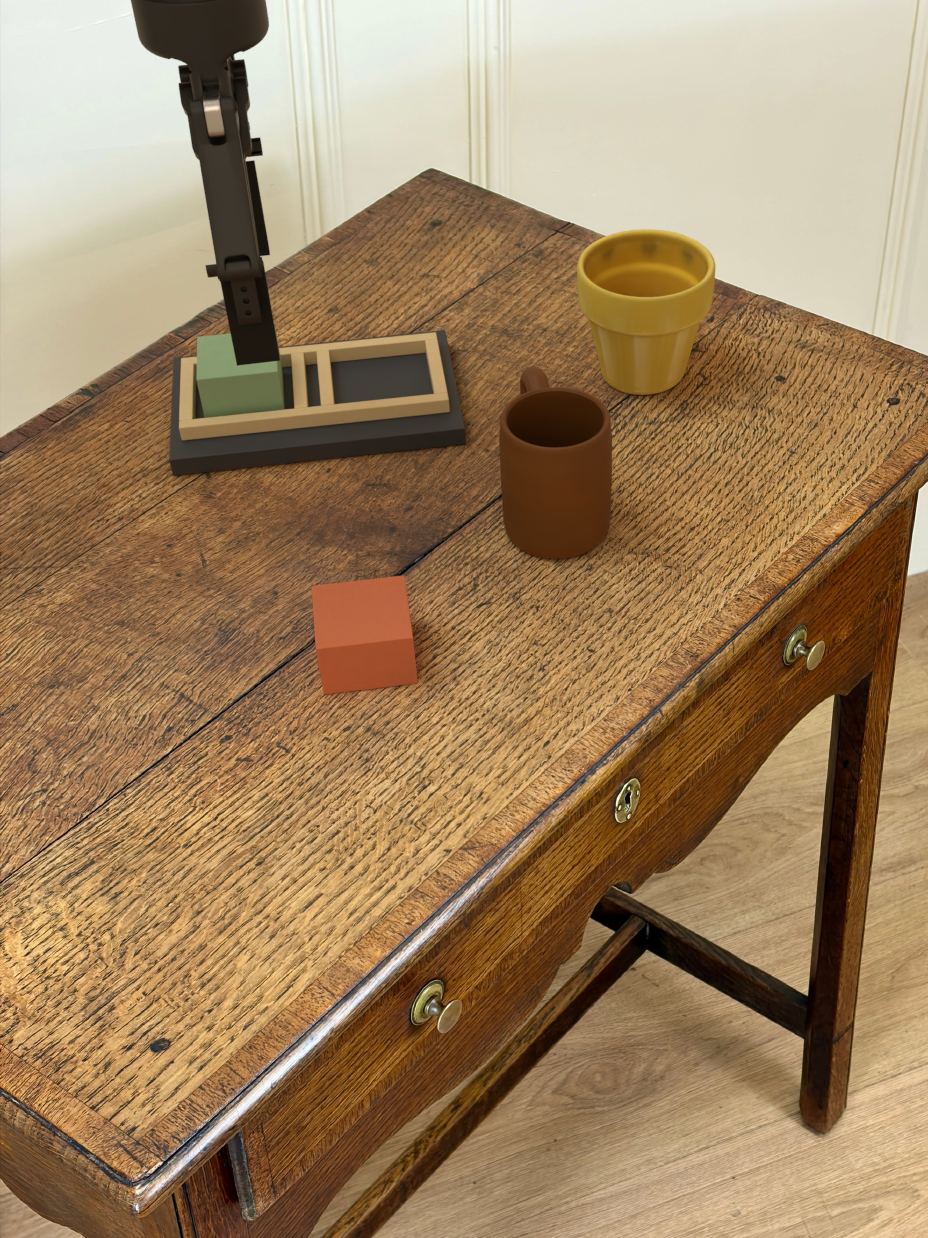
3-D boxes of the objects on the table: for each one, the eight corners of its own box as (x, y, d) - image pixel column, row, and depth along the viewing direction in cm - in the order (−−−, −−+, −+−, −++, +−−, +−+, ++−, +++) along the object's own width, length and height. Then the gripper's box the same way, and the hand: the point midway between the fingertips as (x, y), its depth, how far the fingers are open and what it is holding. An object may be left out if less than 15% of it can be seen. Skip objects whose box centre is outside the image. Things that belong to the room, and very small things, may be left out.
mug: (481, 469, 110) (474, 359, 103) (581, 453, 111) (580, 343, 104) (515, 571, 101) (511, 458, 95) (623, 553, 102) (625, 441, 96)
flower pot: (645, 426, 113) (649, 313, 106) (550, 374, 118) (548, 262, 111) (734, 372, 118) (744, 260, 111) (640, 324, 123) (643, 214, 116)
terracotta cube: (323, 695, 94) (315, 649, 91) (319, 631, 98) (311, 585, 95) (418, 683, 94) (413, 637, 91) (409, 620, 98) (404, 574, 95)
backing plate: (173, 476, 110) (165, 446, 108) (176, 373, 120) (170, 344, 118) (466, 444, 112) (464, 414, 110) (446, 345, 122) (444, 316, 120)
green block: (206, 424, 112) (196, 379, 109) (206, 381, 116) (197, 336, 113) (285, 416, 113) (277, 371, 110) (283, 373, 117) (275, 328, 114)
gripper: (270, 48, 75) (323, 403, 90) (251, -110, 92) (299, 210, 107) (119, 62, 74) (199, 418, 89) (129, -99, 91) (195, 221, 107)
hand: (254, 305), depth 98 cm, fingers open, 13 cm apart
